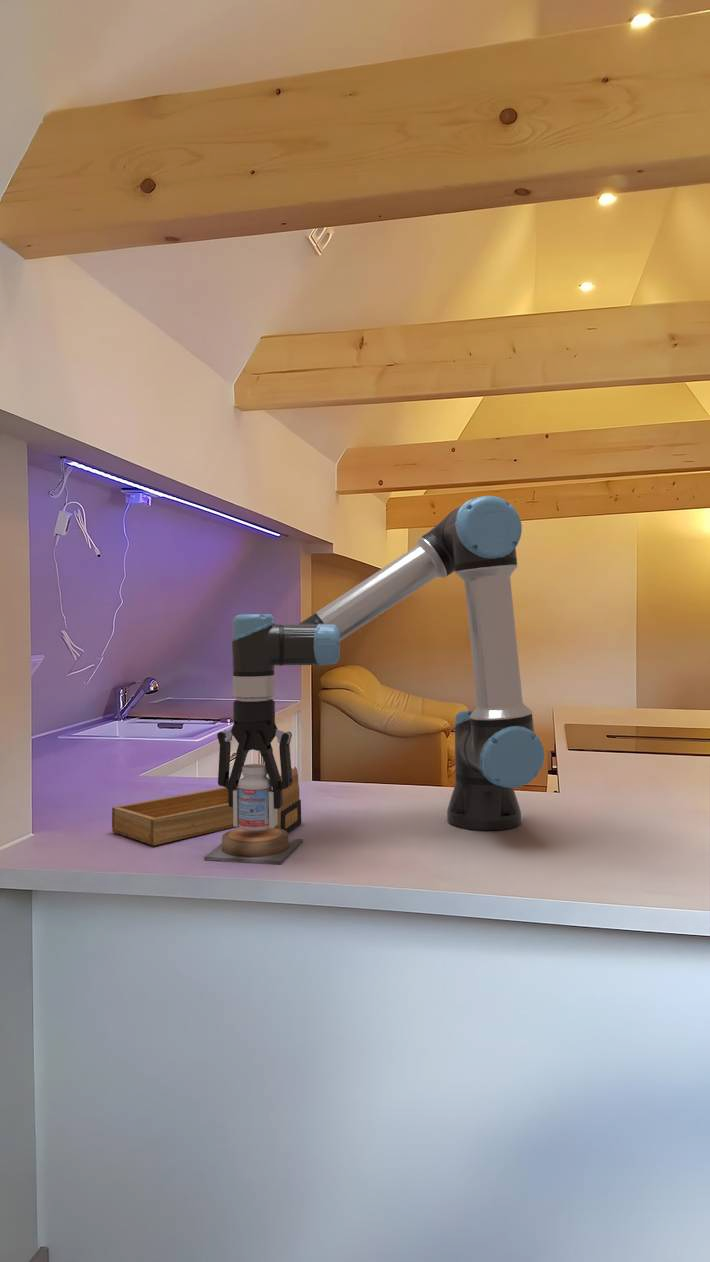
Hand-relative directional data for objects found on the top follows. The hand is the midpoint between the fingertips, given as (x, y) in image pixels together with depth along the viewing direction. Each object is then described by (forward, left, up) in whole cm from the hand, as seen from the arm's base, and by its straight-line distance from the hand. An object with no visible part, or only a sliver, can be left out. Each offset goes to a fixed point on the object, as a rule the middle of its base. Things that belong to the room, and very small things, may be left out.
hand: (255, 825), depth 141 cm
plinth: (0, 0, -5) cm, 5 cm away
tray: (+18, -15, -5) cm, 24 cm away
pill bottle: (0, 0, -1) cm, 1 cm away
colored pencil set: (-2, -15, -5) cm, 16 cm away
